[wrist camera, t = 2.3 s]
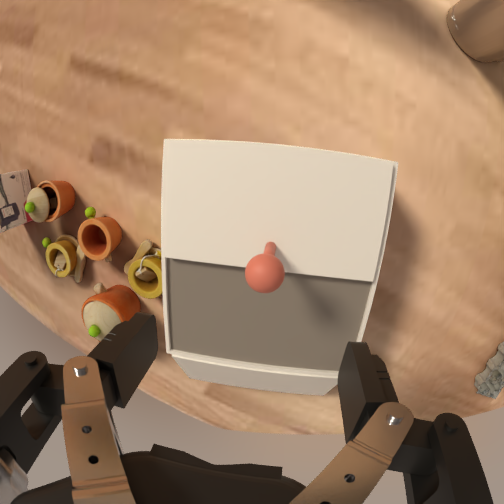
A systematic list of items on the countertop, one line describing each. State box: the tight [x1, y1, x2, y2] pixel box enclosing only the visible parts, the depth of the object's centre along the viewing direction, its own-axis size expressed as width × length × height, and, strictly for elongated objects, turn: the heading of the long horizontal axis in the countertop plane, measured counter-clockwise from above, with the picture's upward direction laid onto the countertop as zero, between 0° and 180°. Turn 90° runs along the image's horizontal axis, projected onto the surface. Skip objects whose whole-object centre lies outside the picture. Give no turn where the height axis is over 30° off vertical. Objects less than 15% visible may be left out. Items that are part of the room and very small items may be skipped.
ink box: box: [0, 169, 32, 233], centre depth 33 cm, size 8×5×12 cm, turn 11°
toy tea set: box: [25, 181, 163, 342], centre depth 36 cm, size 26×16×10 cm, turn 53°
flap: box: [165, 141, 393, 293], centre depth 21 cm, size 19×10×8 cm, turn 85°
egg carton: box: [474, 342, 504, 399], centre depth 35 cm, size 11×8×4 cm
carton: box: [161, 139, 398, 396], centre depth 33 cm, size 20×31×10 cm, turn 175°
